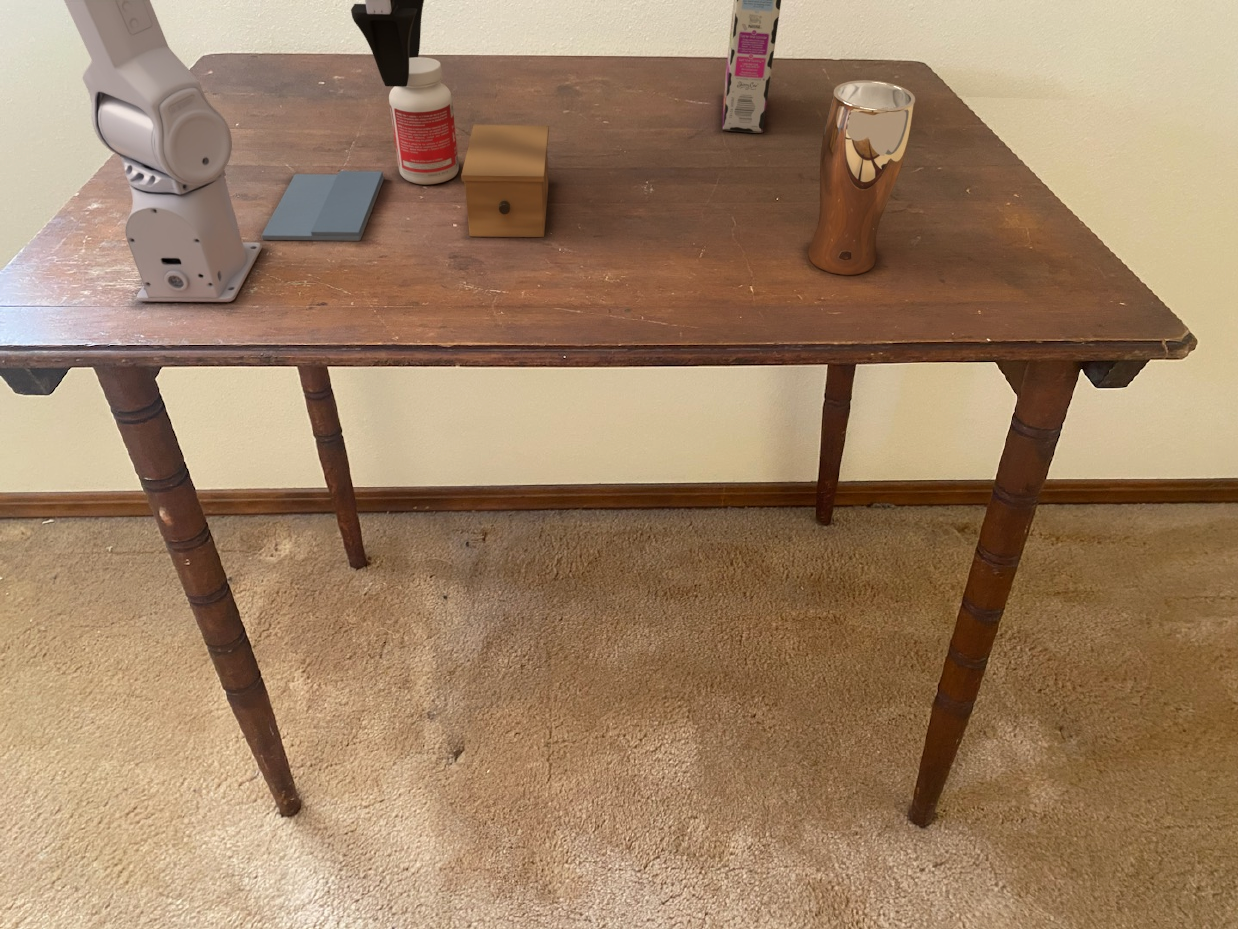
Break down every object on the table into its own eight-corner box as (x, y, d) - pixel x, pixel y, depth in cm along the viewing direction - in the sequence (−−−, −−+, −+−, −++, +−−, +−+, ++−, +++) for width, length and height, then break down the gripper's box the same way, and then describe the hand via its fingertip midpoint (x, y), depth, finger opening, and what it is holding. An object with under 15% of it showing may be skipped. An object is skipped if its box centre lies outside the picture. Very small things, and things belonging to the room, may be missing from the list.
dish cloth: (360, 240, 86) (358, 232, 86) (262, 240, 86) (260, 231, 86) (383, 179, 96) (382, 170, 95) (295, 178, 96) (294, 169, 95)
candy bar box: (765, 134, 107) (785, -22, 96) (721, 132, 107) (737, -25, 96) (763, 98, 115) (781, -50, 104) (722, 96, 115) (737, -52, 104)
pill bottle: (469, 177, 97) (459, 68, 89) (414, 191, 94) (399, 80, 87) (443, 156, 100) (431, 49, 93) (390, 168, 98) (374, 60, 91)
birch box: (545, 241, 87) (543, 178, 83) (466, 240, 87) (460, 177, 83) (550, 184, 96) (548, 125, 92) (478, 183, 96) (473, 124, 92)
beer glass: (788, 258, 86) (814, 93, 76) (830, 232, 89) (860, 72, 79) (853, 286, 82) (889, 117, 72) (893, 258, 86) (933, 94, 76)
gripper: (415, -67, 77) (434, 99, 86) (436, -105, 87) (451, 46, 97) (329, -69, 76) (357, 98, 86) (361, -106, 87) (382, 45, 96)
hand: (402, 70), depth 91 cm, fingers open, 7 cm apart
